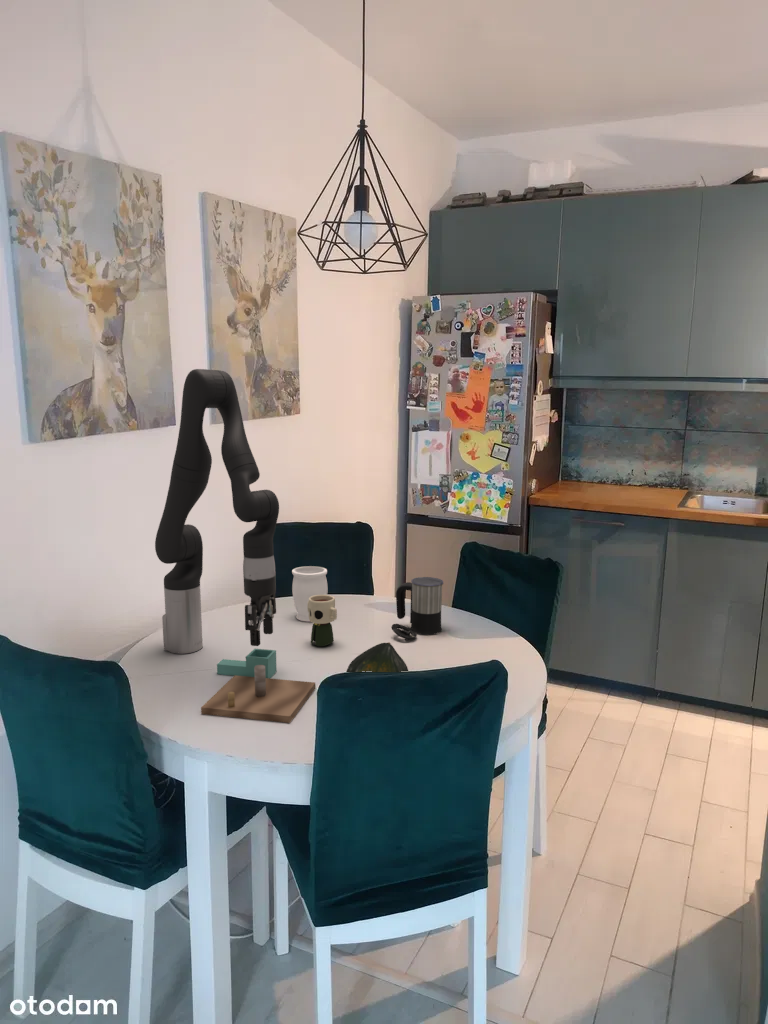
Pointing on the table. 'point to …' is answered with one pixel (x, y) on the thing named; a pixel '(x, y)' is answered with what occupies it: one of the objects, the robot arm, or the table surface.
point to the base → (259, 698)
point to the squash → (378, 660)
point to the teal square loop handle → (250, 664)
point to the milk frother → (420, 607)
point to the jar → (307, 588)
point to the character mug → (322, 618)
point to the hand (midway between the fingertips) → (262, 639)
